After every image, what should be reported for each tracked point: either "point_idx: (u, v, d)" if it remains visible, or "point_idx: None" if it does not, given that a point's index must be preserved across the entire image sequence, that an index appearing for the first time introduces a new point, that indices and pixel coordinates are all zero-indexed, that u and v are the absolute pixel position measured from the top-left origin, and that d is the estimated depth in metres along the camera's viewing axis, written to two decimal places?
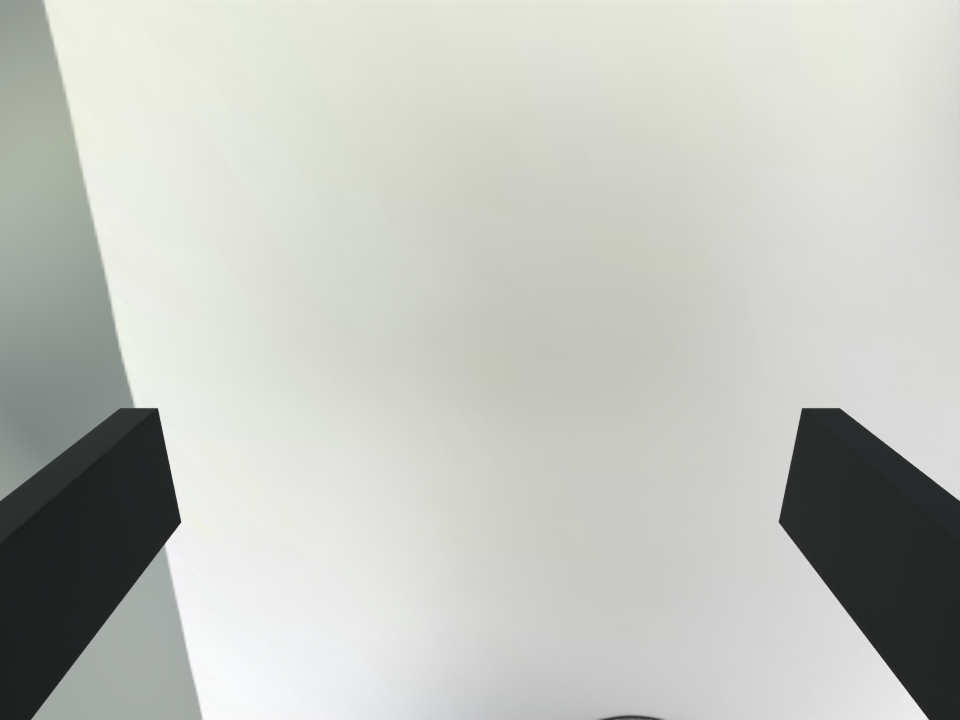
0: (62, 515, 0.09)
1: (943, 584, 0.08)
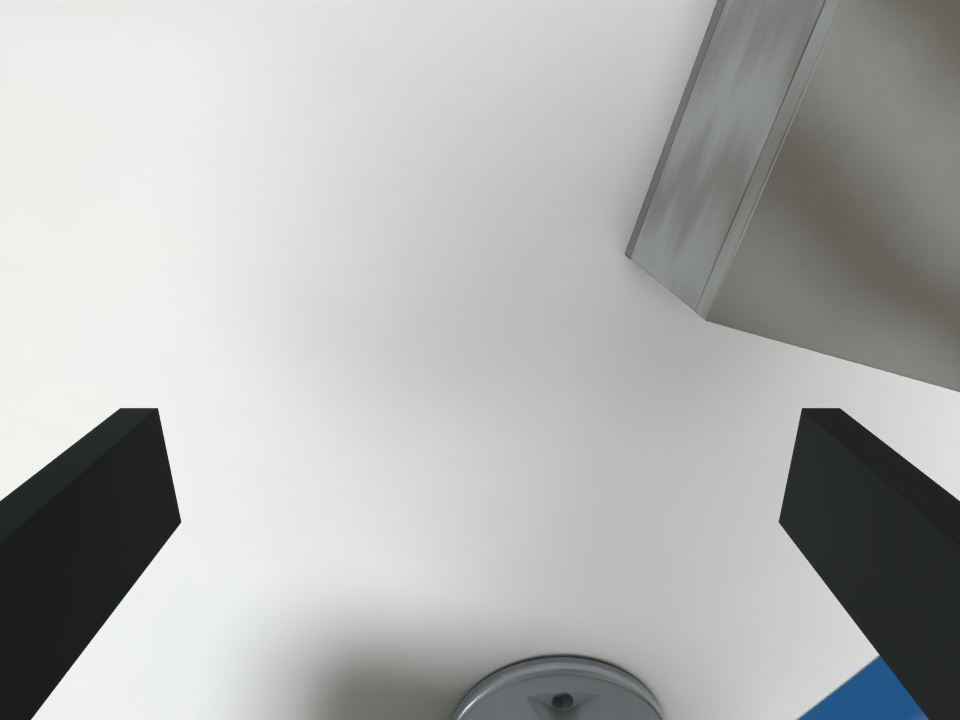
0: (62, 515, 0.09)
1: (943, 584, 0.08)
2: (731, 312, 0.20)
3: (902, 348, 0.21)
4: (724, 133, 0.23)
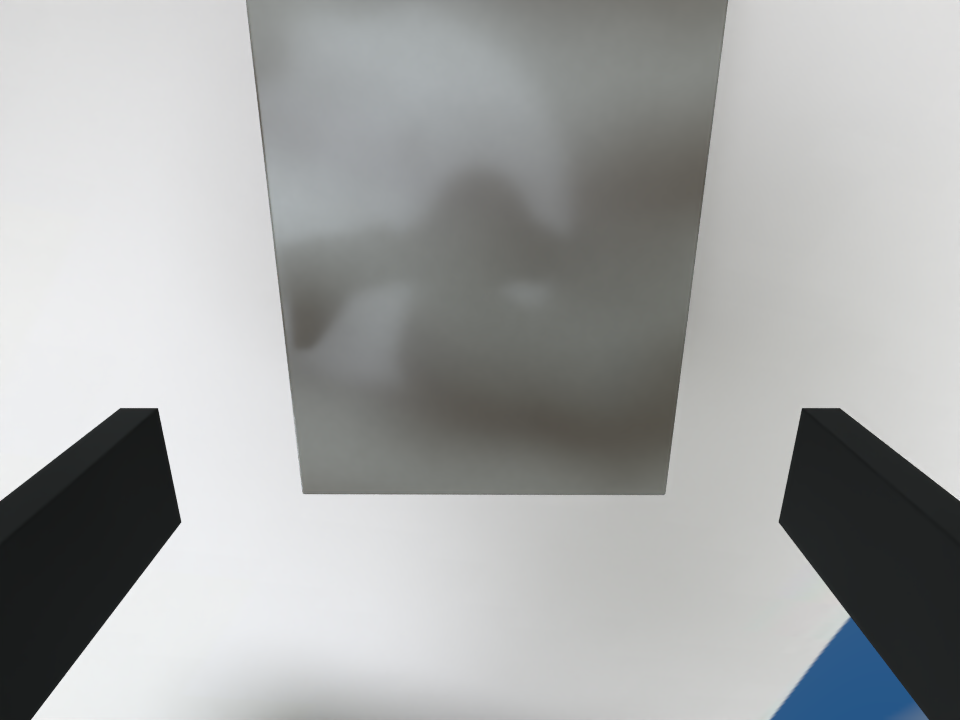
0: (62, 515, 0.09)
1: (943, 584, 0.08)
2: (323, 481, 0.19)
3: (516, 470, 0.19)
4: None
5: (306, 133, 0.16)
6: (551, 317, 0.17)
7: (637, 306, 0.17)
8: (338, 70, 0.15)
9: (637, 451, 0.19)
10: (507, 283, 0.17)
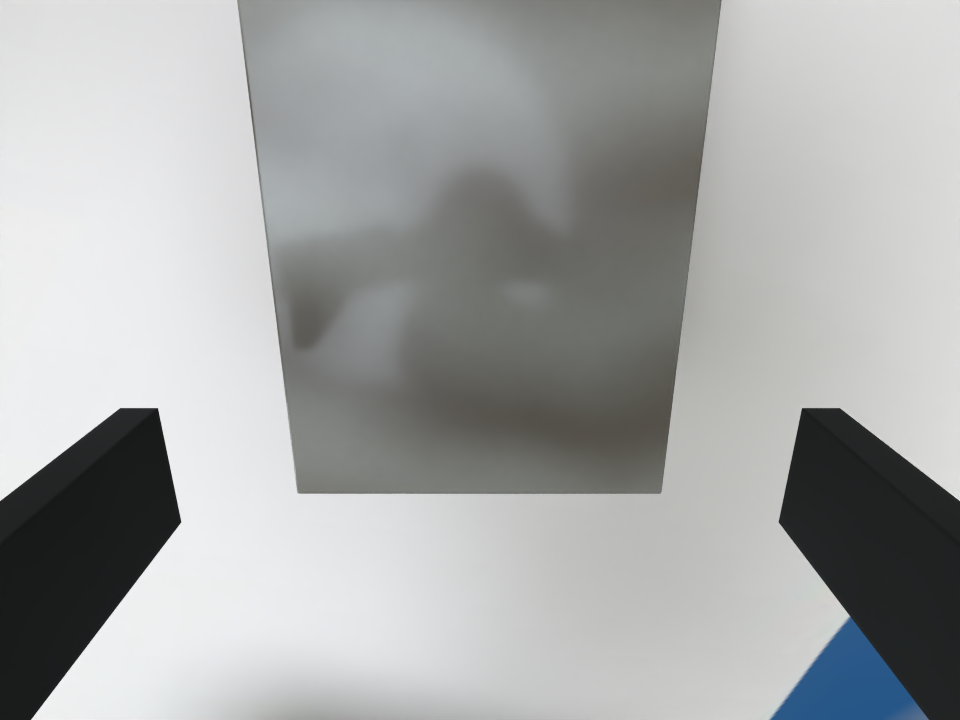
0: (62, 515, 0.09)
1: (943, 584, 0.08)
2: (318, 480, 0.19)
3: (511, 469, 0.19)
4: None
5: (298, 131, 0.16)
6: (546, 315, 0.17)
7: (632, 304, 0.17)
8: (330, 67, 0.15)
9: (633, 449, 0.19)
10: (502, 282, 0.17)
